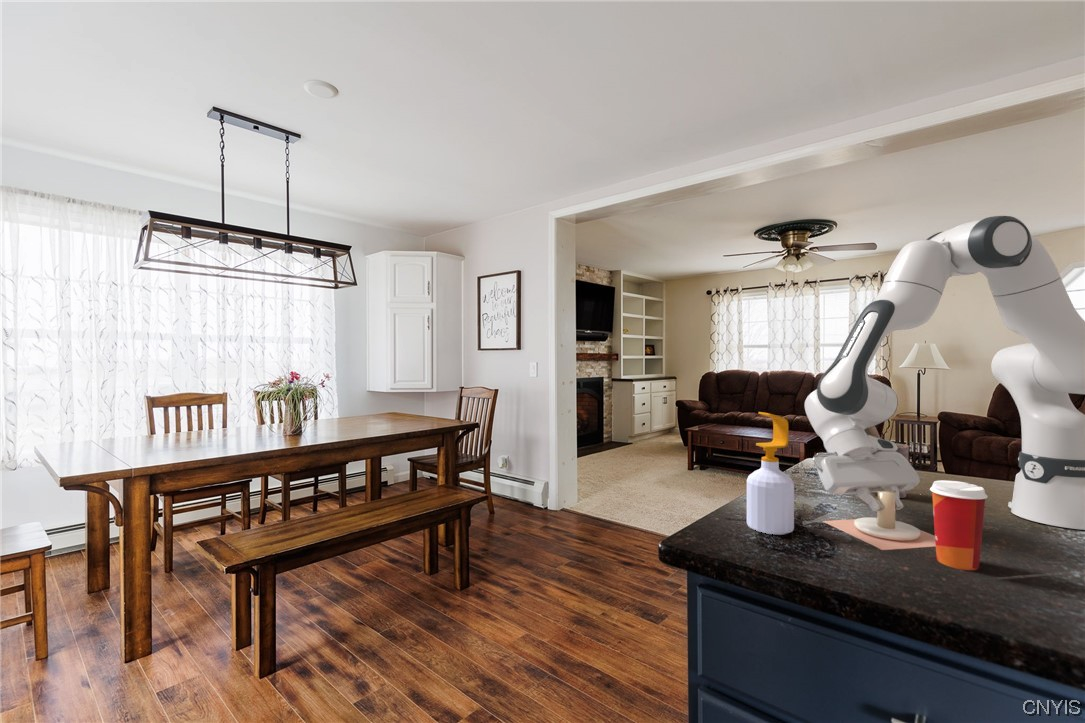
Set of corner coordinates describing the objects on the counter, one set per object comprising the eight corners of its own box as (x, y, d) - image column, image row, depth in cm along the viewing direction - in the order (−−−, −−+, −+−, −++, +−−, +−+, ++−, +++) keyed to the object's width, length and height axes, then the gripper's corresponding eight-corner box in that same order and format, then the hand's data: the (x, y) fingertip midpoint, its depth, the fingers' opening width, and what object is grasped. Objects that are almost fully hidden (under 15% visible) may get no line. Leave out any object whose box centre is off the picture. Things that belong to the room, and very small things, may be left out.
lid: (886, 519, 107) (886, 483, 107) (934, 538, 96) (934, 498, 96) (841, 522, 105) (841, 486, 105) (885, 542, 95) (885, 501, 94)
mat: (887, 518, 110) (887, 517, 110) (957, 546, 94) (957, 544, 94) (822, 522, 108) (822, 521, 108) (882, 552, 92) (882, 549, 92)
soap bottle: (737, 522, 108) (737, 410, 108) (773, 519, 110) (773, 409, 110) (766, 537, 99) (766, 415, 99) (803, 533, 102) (804, 414, 101)
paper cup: (958, 555, 90) (959, 479, 90) (999, 574, 82) (1000, 490, 82) (917, 556, 90) (918, 479, 89) (955, 575, 82) (955, 491, 82)
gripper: (816, 445, 106) (850, 504, 96) (901, 441, 109) (942, 499, 99) (802, 461, 110) (834, 519, 101) (884, 457, 113) (922, 513, 104)
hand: (888, 509), depth 100 cm, fingers closed on lid, 3 cm apart
